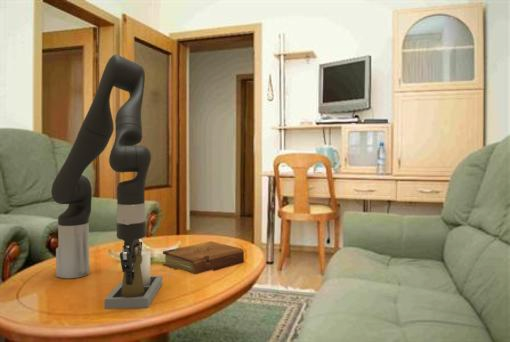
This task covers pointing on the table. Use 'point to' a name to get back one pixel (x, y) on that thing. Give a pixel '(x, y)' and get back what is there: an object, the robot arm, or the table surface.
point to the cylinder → (146, 268)
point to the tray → (143, 301)
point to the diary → (203, 257)
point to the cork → (134, 281)
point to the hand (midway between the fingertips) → (132, 283)
